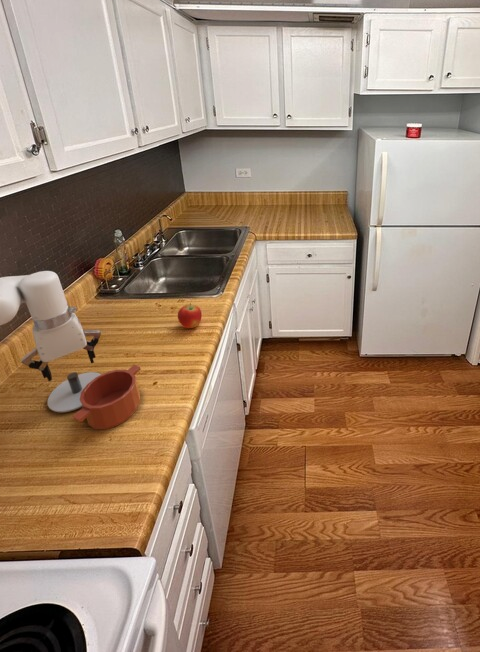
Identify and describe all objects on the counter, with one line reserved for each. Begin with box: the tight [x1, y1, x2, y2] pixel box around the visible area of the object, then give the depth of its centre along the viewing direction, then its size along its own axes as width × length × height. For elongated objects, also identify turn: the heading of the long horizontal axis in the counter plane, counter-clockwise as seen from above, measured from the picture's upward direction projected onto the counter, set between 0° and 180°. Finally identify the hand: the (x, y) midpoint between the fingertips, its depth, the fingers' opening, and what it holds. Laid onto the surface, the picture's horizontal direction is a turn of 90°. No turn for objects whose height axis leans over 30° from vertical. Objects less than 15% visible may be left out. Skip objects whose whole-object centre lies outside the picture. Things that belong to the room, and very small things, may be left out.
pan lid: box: [46, 371, 103, 413], centre depth 93 cm, size 14×14×7 cm
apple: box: [177, 302, 203, 329], centre depth 121 cm, size 8×8×10 cm
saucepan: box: [72, 364, 142, 430], centre depth 89 cm, size 13×18×7 cm
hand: (71, 368), depth 91 cm, fingers open, 9 cm apart
